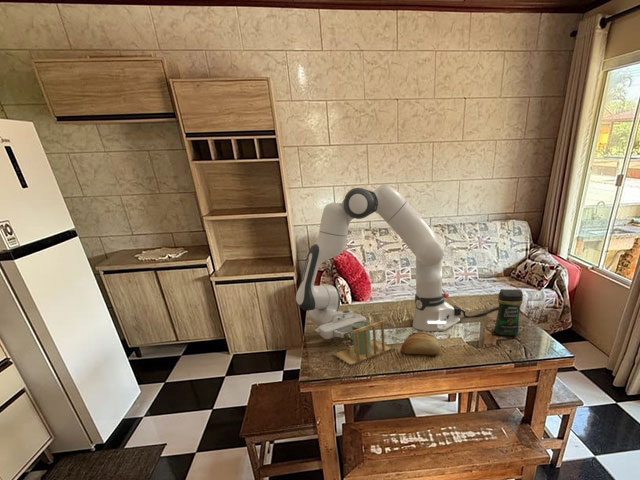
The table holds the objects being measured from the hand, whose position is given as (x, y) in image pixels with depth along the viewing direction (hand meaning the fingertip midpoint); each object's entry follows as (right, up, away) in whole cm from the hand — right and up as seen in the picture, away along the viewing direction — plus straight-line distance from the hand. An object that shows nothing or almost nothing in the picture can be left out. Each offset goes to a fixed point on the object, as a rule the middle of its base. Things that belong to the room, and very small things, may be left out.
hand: (354, 332), depth 159 cm
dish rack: (+3, -8, 0) cm, 9 cm away
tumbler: (+3, -7, 0) cm, 8 cm away
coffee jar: (+63, +1, +12) cm, 64 cm away
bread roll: (+26, -8, -2) cm, 27 cm away
